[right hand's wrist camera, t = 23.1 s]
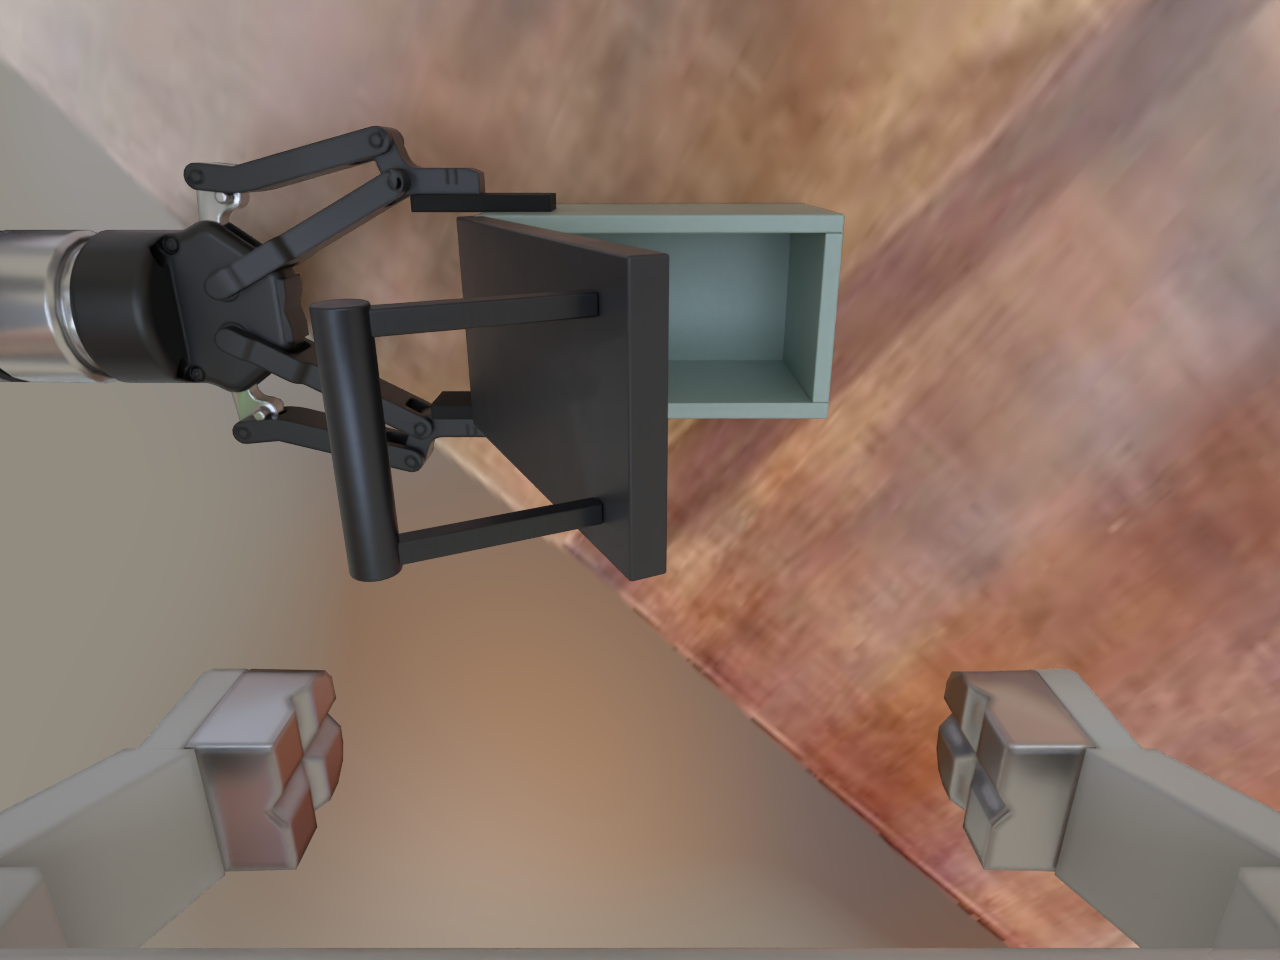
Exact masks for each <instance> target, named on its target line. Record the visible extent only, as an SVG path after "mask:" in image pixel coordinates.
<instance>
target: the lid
mask: <svg viewBox="0 0 1280 960" xmlns="http://www.w3.org/2000/svg"><path fill="white" fill-rule="evenodd" d="M457 229H458V242H459V254H460V266H461V278H462V290H463V298H462V299H449V300H435V301H422V302H408V303H395V304H381V305H370V303H369V302H368V301H366V300H360V299H335V300H326V301H320V302H315V303H313V304H311V305H310V306H309V309H310V315H311V322H312V329H313V335H314V342H315V348H316V355H317V361H318V368H319V375H320V381H321V388H322V394H323V401H324V407H325V414H326V421H327V427H328V434H329V441H330V447H331V454H332V460H333V467H334V473H335V480H336V487H337V493H338V500H339V506H340V513H341V519H342V526H343V533H344V539H345V546H346V552H347V559H348V566H349V572H350V575H351V577H352V578H354V579H355V580H358V581H363V582H375V581H381V580H385V579H388V578H390V577H393V576H395V575H396V574H398V573H399V572H400V571H401V569H402V566H403V565H404V564H409V563H413V562H418V561H423V560H428V559H433V558H438V557H443V556H447V555H452V554H457V553H462V552H467V551H472V550H476V549H482V548H487V547H491V546H496V545H501V544H506V543H511V542H516V541H521V540H526V539H531V538H535V537H540V536H545V535H550V534H555V533H560V532H565V531H570V530H574V529H579V530H580V531H581V532H582V533H583V534H584V535H585V536H586V537H587V538H588V539H589V540H590V541H591V542H592V543H593V544H594V545H595V546H596V547H597V548H598V549H599V550H600V551H601V552H602V553H603V554H604V555H605V556H606V557H607V558H608V559H609V560H610V561H611V562H612V563H613V564H614V565H615V566H616V567H617V568H618V569H619V570H620V571H621V572H622V573H623V574H624V575H625V576H626V577H627V578H628V579H629V580H630V581H636V580H640V579H644V578H648V577H652V576H656V575H660V574H664V573H666V547H667V452H668V357H669V263H670V257H669V254H667V253H663V252H658V251H653V250H648V249H643V248H638V247H633V246H628V245H623V244H618V243H614V242H609V241H604V240H599V239H594V238H589V237H584V236H579V235H574V234H569V233H564V232H559V231H554V230H549V229H544V228H540V227H535V226H530V225H525V224H520V223H515V222H510V221H505V220H500V219H495V218H490V217H485V216H466V217H457ZM458 329H466V339H467V351H468V364H469V376H470V388H471V400H472V412H473V424H474V425H475V426H476V427H477V428H478V429H479V430H480V431H481V432H482V433H483V434H484V435H485V436H486V437H487V438H488V439H489V440H490V441H491V442H492V443H493V444H494V445H495V446H496V447H497V448H498V449H499V450H500V451H501V452H502V453H503V454H504V455H505V456H506V457H507V458H508V459H509V460H510V461H511V462H512V463H513V464H514V465H515V466H516V467H517V468H518V469H519V470H520V471H521V472H522V473H523V474H524V475H525V476H526V477H527V478H528V479H529V480H530V481H531V482H532V483H533V484H534V485H535V486H536V487H537V488H538V489H539V490H540V491H541V492H542V493H543V494H544V495H545V496H546V497H547V498H548V499H549V500H550V501H551V502H552V503H553V504H554V505H549V506H543V507H538V508H533V509H527V510H522V511H517V512H512V513H506V514H501V515H496V516H491V517H485V518H480V519H475V520H469V521H464V522H459V523H454V524H448V525H443V526H438V527H432V528H427V529H422V530H417V531H411V532H406V533H401V534H399V532H398V524H397V516H396V508H395V500H394V492H393V484H392V476H391V467H390V459H389V451H388V443H387V435H386V427H385V419H384V411H383V403H382V395H381V387H380V379H379V371H378V363H377V355H376V347H375V338H374V337H380V336H391V335H403V334H414V333H425V332H436V331H447V330H458Z"/></svg>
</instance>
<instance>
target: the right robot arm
mask: <svg viewBox="0 0 1280 960" xmlns="http://www.w3.org/2000/svg"><path fill="white" fill-rule="evenodd" d="M335 699H336V695H335V690H334V685H333V681H332V677H331V676H330V675H329V674H328V673H327V672H326V671H325V670H279V669H251V670H248V669H212V670H209V671H206V672H204V673H203V674H202V675H201V676H200V677H199V678H198V679H197V681H196V682H195V683H194V684H193V685H192V686H191V687H190V689H189V690H188V691H187V692H186V693H185V694H184V696H183V697H182V698H181V699H180V700H179V701H178V702H177V704H176V705H175V706H174V707H173V708H172V709H171V711H170V712H169V713H168V714H167V715H166V716H165V717H164V719H163V720H162V721H161V722H160V723H159V724H158V726H157V727H156V728H155V729H154V730H153V731H152V732H151V734H150V735H149V736H148V737H147V738H146V739H145V741H144V742H143V743H142V744H141V745H140V746H139V748H138V749H124V750H122V751H120V752H118V753H116V754H114V755H112V756H110V757H108V758H106V759H104V760H102V761H100V762H98V763H96V764H94V765H92V766H90V767H88V768H86V769H84V770H82V771H80V772H78V773H76V774H74V775H72V776H70V777H68V778H67V779H65V780H62V781H61V782H59V783H57V784H55V785H53V786H51V787H49V788H47V789H45V790H43V791H41V792H39V793H37V794H35V795H33V796H31V797H29V798H27V799H25V800H23V801H21V802H19V803H17V804H15V805H13V806H11V807H9V808H7V809H5V810H3V811H1V812H0V960H1280V812H1278V811H1276V810H1274V809H1272V808H1270V807H1268V806H1266V805H1264V804H1263V803H1261V802H1259V801H1257V800H1255V799H1253V798H1251V797H1249V796H1247V795H1245V794H1243V793H1241V792H1239V791H1237V790H1235V789H1233V788H1231V787H1229V786H1227V785H1225V784H1223V783H1221V782H1219V781H1217V780H1215V779H1213V778H1211V777H1209V776H1208V775H1206V774H1204V773H1202V772H1200V771H1198V770H1196V769H1194V768H1192V767H1190V766H1188V765H1186V764H1184V763H1182V762H1180V761H1178V760H1176V759H1174V758H1172V757H1170V756H1168V755H1166V754H1164V753H1162V752H1160V751H1158V750H1156V749H1142V747H1141V746H1140V745H1139V744H1138V743H1137V742H1136V741H1135V739H1134V738H1133V737H1132V736H1131V735H1130V734H1129V732H1128V731H1127V730H1126V729H1125V728H1124V727H1123V726H1122V724H1121V723H1120V722H1119V721H1118V720H1117V719H1116V717H1115V716H1114V715H1113V714H1112V713H1111V712H1110V711H1109V709H1108V708H1107V707H1106V706H1105V705H1104V704H1103V702H1102V701H1101V700H1100V699H1099V698H1098V697H1097V695H1096V694H1095V693H1094V692H1093V691H1092V690H1091V689H1090V687H1089V686H1088V685H1087V684H1086V683H1085V682H1084V680H1083V679H1082V678H1081V677H1080V676H1079V675H1078V674H1077V673H1076V672H1074V671H1072V670H1070V669H1068V668H1059V669H1029V670H1016V671H952V672H951V674H950V676H949V678H948V680H947V684H946V689H945V695H944V699H945V701H946V703H947V704H948V706H949V708H950V710H951V712H952V714H951V715H950V716H949V717H948V718H947V719H946V720H945V721H944V722H943V723H942V724H941V725H940V726H939V732H938V740H937V759H938V770H939V773H940V777H941V780H942V784H943V786H944V789H945V791H946V793H947V795H948V797H949V799H950V801H952V802H953V803H955V804H956V805H957V806H959V807H960V808H962V809H963V810H965V811H966V812H965V818H964V823H963V828H964V830H965V832H966V834H967V836H968V838H969V840H970V842H971V844H972V846H973V848H974V850H975V853H976V855H977V857H978V859H979V861H980V863H981V865H982V867H983V869H984V870H1019V871H1055V876H1057V877H1058V878H1059V879H1060V880H1061V881H1062V882H1064V883H1065V884H1066V885H1067V886H1068V887H1070V888H1071V889H1072V890H1073V891H1074V892H1075V893H1077V894H1078V895H1079V896H1080V897H1081V898H1083V899H1084V900H1085V901H1086V902H1087V903H1088V904H1090V905H1091V906H1092V907H1093V908H1094V909H1096V910H1097V911H1098V912H1099V913H1100V914H1101V915H1103V916H1104V917H1105V918H1106V919H1107V920H1109V921H1110V922H1111V923H1112V924H1113V925H1114V926H1116V927H1117V928H1118V929H1119V930H1120V931H1121V932H1123V933H1124V934H1125V935H1126V936H1127V937H1129V938H1130V939H1131V940H1132V941H1133V942H1134V943H1136V944H1137V945H1138V946H1139V947H1140V948H140V947H141V946H142V945H143V944H145V943H146V942H147V941H148V940H149V939H151V938H152V937H153V936H154V935H155V934H156V933H158V932H159V931H160V930H161V929H162V928H164V927H165V926H166V925H167V924H168V923H169V922H171V921H172V920H173V919H174V918H175V917H177V916H178V915H179V914H180V913H181V912H182V911H184V910H185V909H186V908H187V907H188V906H189V905H191V904H192V903H193V902H194V901H195V900H197V899H198V898H199V897H200V896H201V895H202V894H204V893H205V892H206V891H207V890H208V889H210V888H211V887H212V886H213V885H214V884H216V883H217V882H218V881H219V880H220V879H221V878H223V877H224V876H225V871H259V870H293V869H297V867H298V865H299V863H300V861H301V859H302V857H303V855H304V853H305V851H306V849H307V846H308V844H309V842H310V840H311V838H312V836H313V834H314V832H315V830H316V828H317V823H316V818H315V812H314V811H315V810H317V809H318V808H320V807H321V806H323V805H324V804H325V803H327V802H328V801H330V799H331V797H332V795H333V793H334V791H335V788H336V786H337V784H338V781H339V776H340V772H341V767H342V762H343V738H342V732H341V726H340V725H339V724H338V723H337V722H336V721H335V720H334V719H333V718H332V717H331V716H330V715H329V714H328V712H329V710H330V708H331V706H332V704H333V703H334V701H335Z"/></svg>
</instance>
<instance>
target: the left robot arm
mask: <svg viewBox="0 0 1280 960" xmlns="http://www.w3.org/2000/svg"><path fill="white" fill-rule="evenodd" d="M371 161H376V164H377V166H378V168H379V170H380V173H381V174H380V175H379V176H377V177H375V178H374V179H372V180H370V181H369V182H367V183H365V184H364V185H362V186H361V187H359V188H357V189H356V190H354V191H352V192H351V193H349V194H347V195H346V196H344V197H342V198H341V199H339V200H338V201H336V202H334V203H333V204H331V205H329V206H328V207H326V208H324V209H323V210H321V211H319V212H318V213H316V214H315V215H313V216H311V217H310V218H308V219H306V220H305V221H303V222H301V223H300V224H298V225H297V226H295V227H293V228H292V229H290V230H288V231H287V232H285V233H283V234H282V235H280V236H278V237H275V238H273V239H271V240H269V241H267V242H266V243H264V244H262V243H260V242H259V241H257V240H256V239H254V238H253V237H251V236H250V235H248V234H247V233H245V232H244V231H242V230H241V229H239V228H238V227H236V226H235V225H233V224H232V223H230V222H229V216H230V214H231V213H232V211H234V210H236V209H240V208H244V207H245V206H246V205H247V204H248V202H249V192H258V191H267V190H272V189H276V188H280V187H283V186H287V185H290V184H294V183H297V182H301V181H304V180H308V179H311V178H315V177H318V176H322V175H325V174H329V173H333V172H336V171H340V170H343V169H347V168H350V167H354V166H357V165H361V164H364V163H368V162H371ZM184 179H185V181H186V183H187V184H188V185H189V186H190V187H191V188H193V189H195V190H197V200H198V210H199V222H197V223H195V224H193V225H192V226H190V227H189V228H187V229H185V230H105V231H101V232H99V233H96V232H93V231H90V230H5V231H0V382H74V383H110V382H114V381H118V380H119V381H122V382H128V383H210V384H214V385H216V386H219V387H221V388H223V389H225V390H227V391H230V392H232V395H233V399H234V402H235V406H236V409H237V413H238V416H239V420H240V421H239V422H238V423H236V424H235V425H234V427H233V435H234V437H235V439H236V440H238V441H239V442H241V443H244V444H251V443H261V442H272V441H281V442H285V443H290V444H294V445H298V446H302V447H307V448H311V449H315V450H319V451H324V452H328V453H331V447H330V441H329V434H328V427H327V421H326V414H325V413H324V412H320V411H316V410H312V409H308V408H302V407H293V406H287V407H284V406H283V401H282V400H281V399H278V398H275V397H271V396H267V395H265V394H263V393H262V392H261V391H260V390H259V388H258V386H257V384H259V383H260V382H261V381H262V380H264V379H265V378H266V377H268V376H269V375H270V374H271V373H273V374H275V375H277V376H279V377H281V378H283V379H285V380H287V381H289V382H292V383H296V384H304V385H307V386H309V387H311V388H313V389H315V390H317V391H319V392H321V393H322V388H321V381H320V375H319V368H318V361H317V355H316V348H315V342H313V341H311V340H309V339H307V338H305V336H307V335H309V332H308V326H307V320H306V317H305V315H304V312H303V310H302V308H301V305H300V303H301V294H302V285H301V279H300V274H295V272H294V270H293V268H292V267H294V266H296V265H297V264H299V263H301V262H302V261H304V260H306V259H307V258H309V257H311V256H312V255H313V254H314V253H316V252H317V251H319V250H321V249H322V248H324V247H326V246H327V245H329V244H331V243H332V242H334V241H336V240H337V239H339V238H341V237H342V236H344V235H346V234H347V233H349V232H351V231H352V230H354V229H356V228H357V227H359V226H361V225H362V224H364V223H366V222H367V221H369V220H371V219H372V218H374V217H376V216H377V215H379V214H381V213H382V212H384V211H386V210H387V209H389V208H391V207H392V206H394V205H396V204H397V203H399V202H401V201H402V200H404V199H406V198H407V197H409V196H410V199H411V210H412V212H551V211H553V210H555V209H556V193H485V180H484V172H482V171H479V170H477V169H475V168H422V167H419V166H417V165H415V164H414V163H413V162H412V161H411V160H410V158H409V156H408V154H407V151H406V149H405V147H404V139H403V136H402V135H401V133H400V132H399V131H398V130H396V129H393V128H388V127H380V126H371V127H368V128H364V129H361V130H357V131H354V132H350V133H347V134H344V135H340V136H337V137H333V138H330V139H326V140H323V141H319V142H316V143H312V144H309V145H305V146H302V147H298V148H295V149H291V150H288V151H284V152H281V153H278V154H274V155H271V156H267V157H264V158H260V159H257V160H253V161H250V162H246V163H243V164H239V165H238V164H228V163H190V164H189V165H187V166H186V167H185V169H184ZM379 379H380V378H379ZM380 387H381V395H382V403H383V411H384V419H385V424H387V425H389V426H391V427H393V428H395V429H397V430H395V429H391V428H387V427H386V435H387V443H388V451H389V459H390V467H392V468H396V469H400V470H404V471H408V472H415V471H418V470H419V469H420V468H421V467H422V466H423V465H424V463H425V462H426V460H427V459H428V458H429V456H430V455H431V453H432V452H433V445H434V441H435V439H436V438H439V437H486V436H485V435H484V434H483V433H482V432H481V431H480V430H479V429H478V428H477V427H476V426H475V425H474V424H473V412H472V400H471V391H442V393H441V394H440V395H439V396H438V397H437V398H436V400H435V401H434V402H433V403H432V404H431V403H429V402H427V401H425V400H423V399H421V398H419V397H417V396H415V395H413V394H411V393H409V392H407V391H405V390H403V389H401V388H399V387H397V386H395V385H393V384H390V383H388V382H386V381H384V380H382V379H380ZM399 430H400V431H399Z"/></svg>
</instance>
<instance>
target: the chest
mask: <svg viewBox="0 0 1280 960" xmlns="http://www.w3.org/2000/svg"><path fill="white" fill-rule="evenodd" d="M475 216H485V217H490V218H495V219H500V220H505V221H510V222H515V223H520V224H525V225H530V226H535V227H540V228H544V229H549V230H554V231H559V232H564V233H569V234H574V235H579V236H584V237H589V238H594V239H599V240H604V241H609V242H614V243H618V244H623V245H628V246H633V247H638V248H643V249H648V250H653V251H658V252H663V253H667V254H669V257H670V263H669V357H668V419H737V418H827V417H828V406H829V403H828V402H829V393H830V382H831V370H832V358H833V347H834V335H835V324H836V312H837V300H838V289H839V277H840V266H841V254H842V243H843V233H842V232H843V229H844V218H845V216H844V215H843V214H840V213H836V212H833V211H829V210H826V209H822V208H818V207H815V206H811V205H807V204H804V203H721V204H556V209H555V210H553V211H551V212H484V213H481V214H478V215H475Z"/></svg>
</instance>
